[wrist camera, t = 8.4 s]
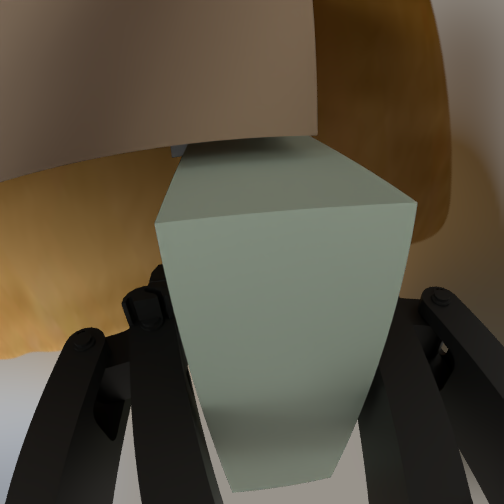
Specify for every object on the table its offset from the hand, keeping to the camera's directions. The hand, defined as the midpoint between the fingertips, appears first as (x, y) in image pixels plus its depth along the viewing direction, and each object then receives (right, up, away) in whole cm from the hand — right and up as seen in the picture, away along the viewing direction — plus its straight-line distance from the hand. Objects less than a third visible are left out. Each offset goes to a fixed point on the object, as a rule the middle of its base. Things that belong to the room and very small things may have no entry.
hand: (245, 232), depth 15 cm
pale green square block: (0, 0, 0) cm, 0 cm away
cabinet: (-11, +11, 0) cm, 16 cm away
